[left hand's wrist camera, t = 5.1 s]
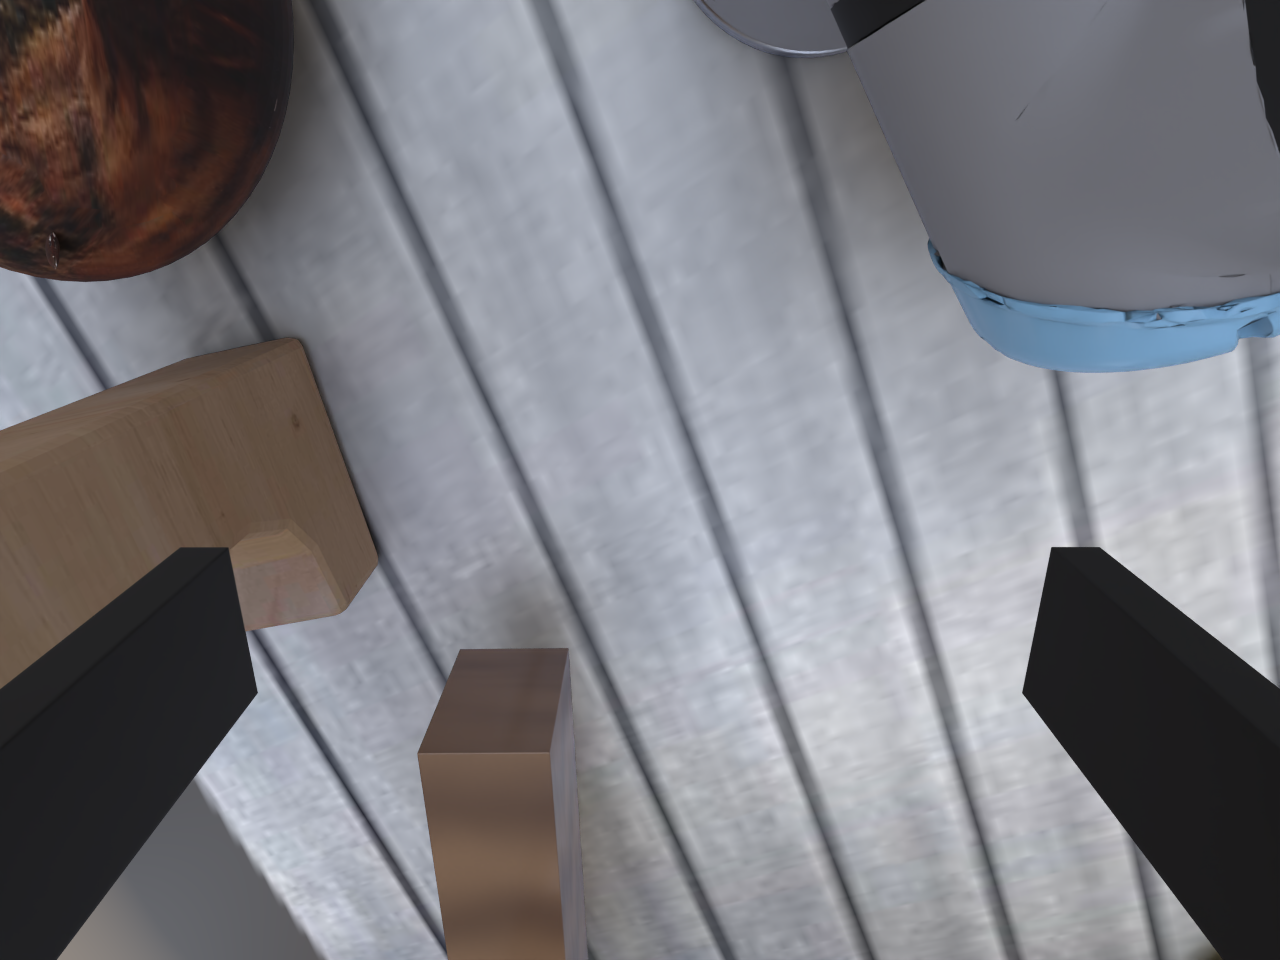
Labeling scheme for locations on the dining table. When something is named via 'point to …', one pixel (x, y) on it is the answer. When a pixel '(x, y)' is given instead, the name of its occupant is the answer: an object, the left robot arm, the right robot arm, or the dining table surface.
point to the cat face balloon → (133, 127)
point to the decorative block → (178, 496)
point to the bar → (506, 807)
